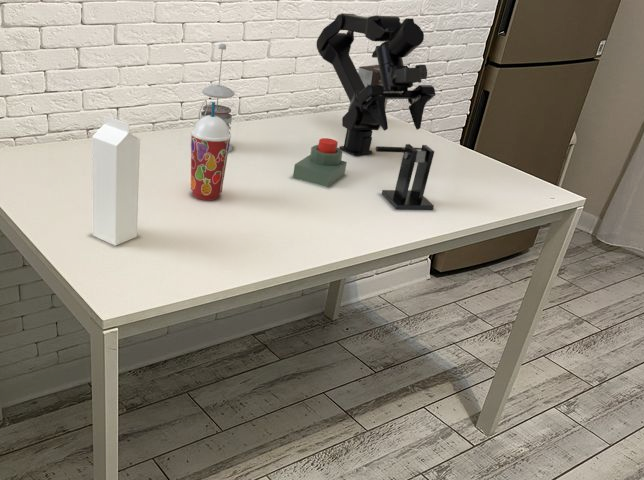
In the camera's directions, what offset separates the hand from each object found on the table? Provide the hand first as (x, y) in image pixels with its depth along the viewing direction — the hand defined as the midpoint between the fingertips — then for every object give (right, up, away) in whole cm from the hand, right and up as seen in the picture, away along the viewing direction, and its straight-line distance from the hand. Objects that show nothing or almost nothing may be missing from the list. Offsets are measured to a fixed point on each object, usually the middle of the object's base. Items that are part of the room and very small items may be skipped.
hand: (402, 129), depth 177 cm
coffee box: (-1, +15, +44) cm, 46 cm away
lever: (-1, -10, -10) cm, 14 cm away
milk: (-63, -32, -37) cm, 80 cm away
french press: (-46, -1, +12) cm, 47 cm away
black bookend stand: (-1, -19, -8) cm, 21 cm away
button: (-18, -5, 0) cm, 19 cm away
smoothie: (-47, -19, -16) cm, 53 cm away
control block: (-20, -11, +1) cm, 23 cm away
